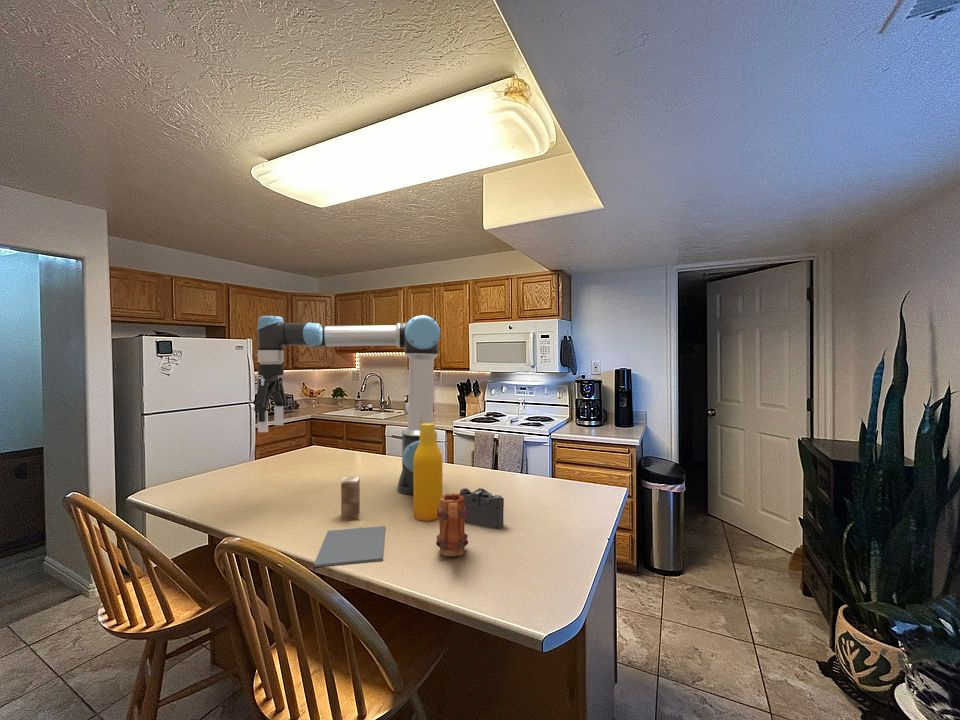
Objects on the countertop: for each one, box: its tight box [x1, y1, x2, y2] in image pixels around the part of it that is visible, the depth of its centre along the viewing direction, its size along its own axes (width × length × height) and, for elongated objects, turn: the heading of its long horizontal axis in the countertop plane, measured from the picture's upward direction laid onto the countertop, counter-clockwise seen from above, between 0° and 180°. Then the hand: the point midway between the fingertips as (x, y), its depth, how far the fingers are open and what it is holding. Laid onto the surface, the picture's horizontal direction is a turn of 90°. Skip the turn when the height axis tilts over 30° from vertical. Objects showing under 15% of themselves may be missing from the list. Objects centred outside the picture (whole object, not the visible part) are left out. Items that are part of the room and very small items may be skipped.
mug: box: [435, 492, 469, 558], centre depth 102 cm, size 15×8×15 cm, turn 5°
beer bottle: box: [412, 422, 443, 522], centre depth 129 cm, size 9×9×29 cm
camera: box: [459, 487, 505, 530], centre depth 126 cm, size 14×11×10 cm
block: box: [340, 475, 361, 522], centre depth 129 cm, size 5×5×12 cm
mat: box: [313, 525, 386, 568], centre depth 109 cm, size 16×20×1 cm
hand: (271, 428), depth 134 cm, fingers open, 13 cm apart
